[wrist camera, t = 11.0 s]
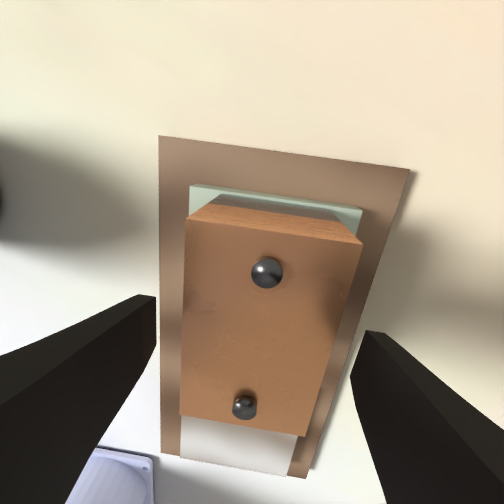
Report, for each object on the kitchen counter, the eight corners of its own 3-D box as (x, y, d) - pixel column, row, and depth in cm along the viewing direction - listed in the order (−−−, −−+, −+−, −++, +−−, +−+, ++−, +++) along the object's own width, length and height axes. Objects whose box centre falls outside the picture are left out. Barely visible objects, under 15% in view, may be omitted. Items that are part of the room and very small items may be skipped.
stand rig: (304, 467, 21) (307, 497, 20) (164, 442, 22) (154, 469, 20) (402, 168, 13) (423, 170, 11) (165, 136, 13) (146, 133, 11)
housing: (328, 208, 12) (366, 248, 7) (295, 346, 15) (305, 445, 10) (221, 193, 12) (181, 221, 7) (209, 332, 15) (176, 422, 10)
